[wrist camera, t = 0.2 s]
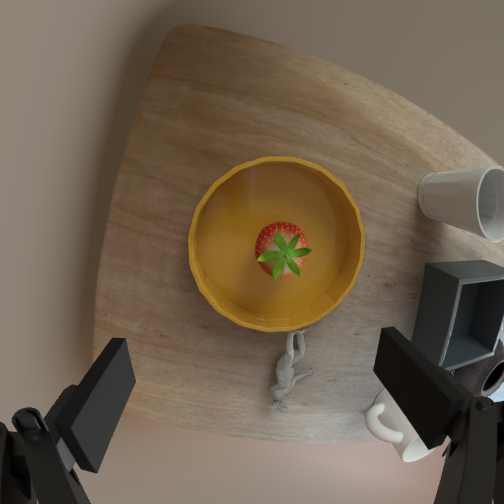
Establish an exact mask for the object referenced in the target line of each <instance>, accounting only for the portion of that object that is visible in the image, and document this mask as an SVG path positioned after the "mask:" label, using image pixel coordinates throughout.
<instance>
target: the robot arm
mask: <svg viewBox="0 0 504 504" xmlns="http://www.w3.org/2000/svg"><path fill="white" fill-rule="evenodd" d="M373 371H374V373H375V374H376V375H377V377H378V378H379V380H380V381H381V382H382V384H383V385H384V387H385V388H386V389H387V391H388V392H389V394H390V395H391V396H392V398H393V399H394V401H395V402H396V404H397V405H398V406H399V408H400V409H401V411H402V412H403V414H404V415H405V416H406V418H407V419H408V421H409V422H410V424H411V425H412V427H413V428H414V430H415V431H416V432H417V434H418V435H419V437H420V438H421V440H422V441H423V443H424V444H425V446H426V447H427V449H428V450H430V449H433V448H435V447H437V446H440V445H442V444H443V442H444V440H445V438H446V437H447V435H448V436H449V438H450V439H451V441H450V442H449V444H448V446H447V448H446V449H445V451H444V452H443V454H442V456H444V455H445V454H446V453H447V454H446V459H445V463H444V467H443V472H442V476H441V480H440V484H439V487H438V490H437V494H436V497H435V501H434V504H492V499H493V502H494V504H504V401H500V402H495V403H494V402H493V400H491V399H490V398H488V397H485V396H477V397H475V396H474V395H473V394H472V393H471V392H470V391H469V390H468V389H467V388H466V387H465V386H463V385H462V384H461V383H460V382H458V380H457V379H456V378H455V377H453V375H452V374H451V373H450V372H449V371H448V370H447V369H445V368H443V367H441V366H434V365H433V364H432V363H431V362H430V361H429V360H428V359H427V358H426V357H425V356H424V355H423V354H422V353H421V352H420V351H419V350H418V349H417V348H416V347H415V346H414V345H413V344H412V343H411V342H410V341H408V340H407V339H406V338H405V337H404V336H403V335H402V334H401V333H400V332H399V331H398V330H397V329H396V328H395V327H394V326H393V327H386V328H382V329H381V334H380V340H379V345H378V350H377V355H376V360H375V364H374V369H373ZM135 383H136V380H135V376H134V372H133V368H132V364H131V360H130V356H129V351H128V347H127V342H126V338H112V339H111V340H110V341H109V343H108V344H107V346H106V347H105V348H104V350H103V351H102V352H101V354H100V355H99V357H98V358H97V359H96V361H95V362H94V364H93V365H92V366H91V368H90V369H89V371H88V372H87V374H86V375H85V376H84V378H83V379H82V381H81V382H80V384H79V385H70V386H69V387H68V388H66V389H65V390H63V392H62V393H61V395H60V396H59V399H57V400H56V402H55V405H53V406H52V407H51V409H50V410H49V412H48V413H47V415H46V416H45V417H44V419H43V418H42V416H41V414H40V412H39V411H38V410H37V409H35V408H31V407H29V408H23V409H20V410H18V411H17V412H16V413H15V414H14V416H13V417H12V423H13V425H14V427H15V428H16V430H17V432H11V431H8V429H7V427H6V426H5V424H3V423H2V422H0V504H37V499H38V502H39V504H91V503H90V501H89V499H88V497H87V495H86V493H85V491H84V489H83V487H82V485H81V483H80V481H79V479H78V476H77V474H76V472H75V470H74V469H73V465H74V463H75V461H76V462H77V464H78V466H79V467H80V468H81V469H82V470H86V471H89V472H93V473H98V470H99V468H100V465H101V463H102V460H103V458H104V455H105V453H106V450H107V448H108V445H109V443H110V440H111V438H112V436H113V433H114V431H115V428H116V426H117V424H118V421H119V419H120V417H121V414H122V412H123V410H124V407H125V405H126V403H127V401H128V398H129V396H130V394H131V392H132V389H133V387H134V385H135Z"/></svg>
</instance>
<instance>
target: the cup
mask: <svg viewBox="0 0 504 504" xmlns="http://www.w3.org/2000/svg"><path fill="white" fill-rule="evenodd" d="M418 203H419V206H420V209H421V211H422V212H423V213H424V215H425V216H427V217H428V218H430V219H434V220H438V221H441V222H444V223H446V224H449V225H452V226H455V227H457V228H460V229H463V230H465V231H468V232H470V233H473V234H475V235H478V236H480V237H482V238H485V239H487V240H489V241H492V242H499V241H501V240H502V239H504V168H502V167H501V166H498V165H492V166H484V167H477V168H469V169H461V170H454V171H446V172H439V173H429V174H427V175H426V176H424V178H423V179H422V180H421V182H420V184H419V187H418Z"/></svg>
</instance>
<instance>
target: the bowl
mask: <svg viewBox="0 0 504 504" xmlns="http://www.w3.org/2000/svg"><path fill="white" fill-rule="evenodd" d="M275 222H288V223H292V224H294V225H297V226H298V227H299V228H300V229H301V230H302V232H303V233H304V235H305V237H306V241H307V248H310V249H312V251H311V252H310V253H309V254H307V256H306V258H305V261H304V263H303V265H302V266H301V268H300V269H299V270H300V277H299V276H298V275H297V274H295V273H294V274H293V275H291V276H289V277H285V278H277V279H276V280H275V281H273V277H272V276H270V275H269V274H267V273H266V272H265V271H264V270H263V269H262V267H261V266H260V265H259V263H258V262H257V259H256V257H255V245H256V240H257V238H258V235H259V233H260V232H261V230H262V229H263V228H264V227H266V226H267V225H269V224H272V223H275ZM364 247H365V231H364V227H363V223H362V218H361V214H360V210H359V207H358V206H357V204H356V203H355V201H354V199H353V198H352V196H351V194H350V193H349V191H348V190H347V188H346V187H345V185H344V184H343V183H342V182H340V181H339V180H338V179H337V178H336V177H334V176H333V175H332V174H331V173H330V172H328V171H327V170H326V169H325V168H323V167H321V166H319V165H316V164H314V163H311V162H308V161H306V160H303V159H300V158H297V157H284V156H265V157H262V158H258V159H255V160H252V161H249V162H246V163H243V164H240V165H238V166H236V167H234V168H233V169H232V170H230V171H229V172H227V173H226V174H225V175H223V176H222V177H221V178H219V179H218V180H217V181H215V182H214V183H213V184H212V185H211V187H210V188H209V190H208V191H207V192H206V194H205V195H204V197H203V198H202V200H201V201H200V203H199V204H198V206H197V207H196V209H195V213H194V216H193V219H192V223H191V226H190V230H189V234H188V252H189V266H190V268H191V271H192V273H193V276H194V278H195V281H196V283H197V286H198V288H199V290H200V292H201V293H202V294H203V296H204V297H205V298H206V299H207V300H208V302H209V303H210V304H211V305H212V306H213V307H214V309H215V310H216V311H217V312H219V313H220V314H222V315H223V316H225V317H227V318H228V319H230V320H231V321H233V322H235V323H236V324H238V325H240V326H243V327H247V328H251V329H255V330H259V331H263V332H279V331H293V330H295V329H298V328H301V327H304V326H307V325H310V324H312V323H315V322H317V321H319V320H320V319H321V318H323V317H324V316H326V315H327V314H328V313H330V312H331V311H332V310H334V309H335V308H337V307H338V306H339V304H340V303H341V302H342V301H343V299H344V298H345V297H346V295H347V294H348V293H349V292H350V290H351V289H352V288H353V286H354V284H355V282H356V279H357V277H358V274H359V271H360V269H361V266H362V264H363V260H364Z"/></svg>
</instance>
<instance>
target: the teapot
mask: <svg viewBox="0 0 504 504" xmlns="http://www.w3.org/2000/svg"><path fill="white" fill-rule="evenodd" d="M454 377H455V378H456V379H457V380H458V382H460V383H461V384H462V385H463V386H465V387H466V388H467V389H468V390H469V391H470V392H471V393H472V394H473V395H474V396H475V397H477V396H485V397H488V396H490V395H491V394H492V393H494V392H495V391H496V390H497V389H498V388H499V387H500V385H501V384H502V383H503V382H504V345H503V343H502V341H501V340H500V338H499V340H498V343H497V346H496V349H495V352H494V355H492V356H490V357H487V358H485V359H482V360H479V361H477V362H474V363H471V364H468V365H465V366H463V367H460V368H457V369H456V370H455V374H454Z"/></svg>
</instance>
